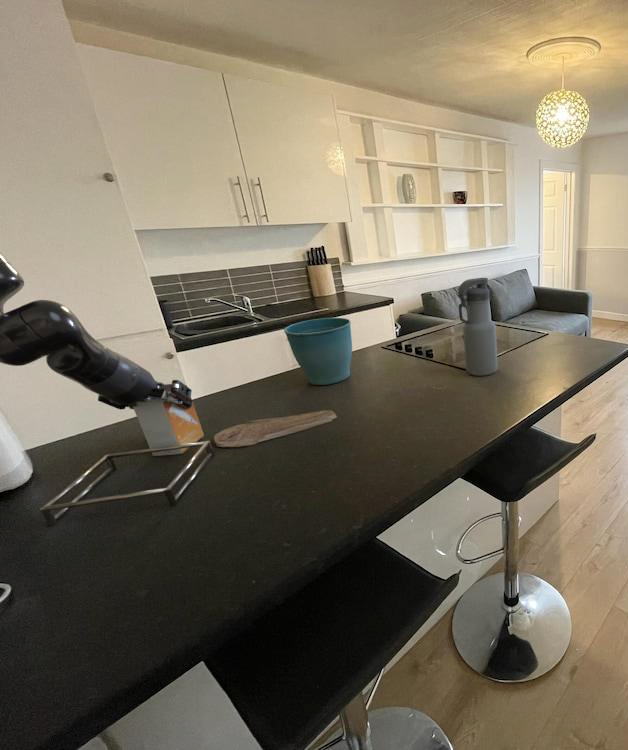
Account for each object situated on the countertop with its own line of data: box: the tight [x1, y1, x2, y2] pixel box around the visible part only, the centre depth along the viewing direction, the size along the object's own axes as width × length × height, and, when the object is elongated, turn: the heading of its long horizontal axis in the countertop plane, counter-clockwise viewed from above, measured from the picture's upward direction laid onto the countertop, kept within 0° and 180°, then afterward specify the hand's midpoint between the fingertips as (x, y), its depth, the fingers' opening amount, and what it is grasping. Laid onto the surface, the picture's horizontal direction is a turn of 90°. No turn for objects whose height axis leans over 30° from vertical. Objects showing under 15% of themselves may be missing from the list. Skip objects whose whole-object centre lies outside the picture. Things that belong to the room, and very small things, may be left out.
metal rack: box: [39, 440, 215, 527], centre depth 77 cm, size 19×17×4 cm
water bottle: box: [457, 277, 499, 377], centre depth 121 cm, size 10×10×28 cm
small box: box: [133, 384, 205, 457], centre depth 89 cm, size 8×6×13 cm
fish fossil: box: [213, 409, 338, 448], centre depth 97 cm, size 26×10×1 cm, turn 123°
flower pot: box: [283, 317, 353, 386], centre depth 122 cm, size 18×18×17 cm
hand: (169, 406), depth 89 cm, fingers closed on small box, 7 cm apart
